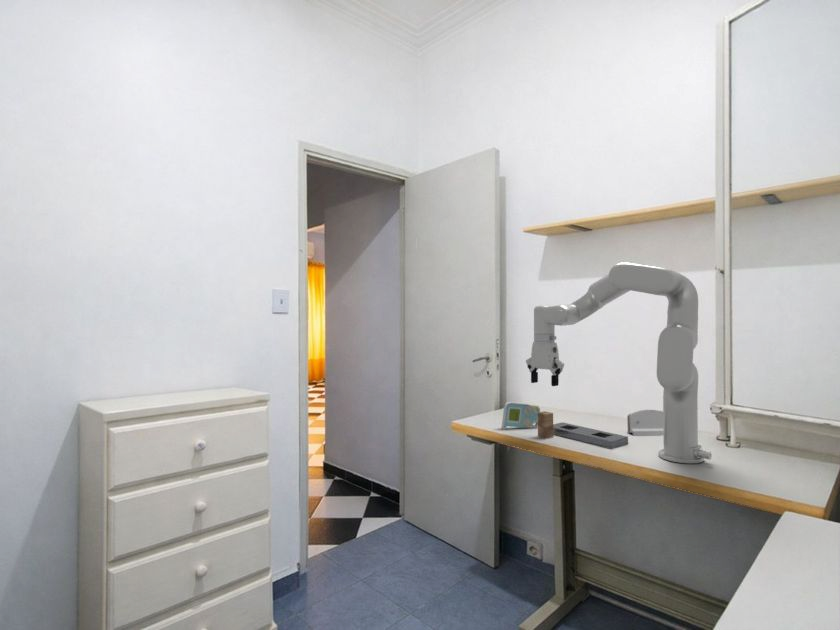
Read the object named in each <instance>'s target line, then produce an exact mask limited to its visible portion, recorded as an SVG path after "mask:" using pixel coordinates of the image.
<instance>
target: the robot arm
mask: <svg viewBox="0 0 840 630" xmlns="http://www.w3.org/2000/svg"><path fill="white" fill-rule="evenodd" d="M631 291H632V292H638V293H644V294H649V295H655V296H662V297H666V298H667V301H668V304H667V313H666V314H667V320H666V327H664V328H663V329H662V331H661V332H660V334H659V336H658V341H657V357H656V378H657V381H658V383H659V385H660V386H661V388H663V395H662V401H663V402H662V406H663V407H662V411H663V433H664V436H663V448H662V449H659V450H658V452H657V453H658V456H659V457H660V459H663V460H665V461H669V462H674V463H677V464H678V463H679V464H700V463H703V462H704V461H705V459H706V460H709V461H710V460H711V459H712V456H713V455H712V452H711V451H707V450H703V448H702V445H700V444H699V435H698V434H699V426H698V425H699V421H698V420H699V419H698V408H699V407H698V404H699V403H698V399H699V398H698V394H699V393H698V391H699V371H698V368H697V367H696V365H695V363H693V361H694V349H696V348H697V346H698V343H699V342H698V341H699V337H698V333H699V331H698V329H699V294H698V291H697V288H696V286H695V284H693V282H692V281H691V280H690V279H689V278H688V277H687V276H685V275H683V274H681V272H680V273H679V272H678V271H675V270H672V269H669V268H665V267H657V266H651V265H650V266H649V265H643V264H638V263H632V262H631V263H630V262H624V261H623V262H618V263H616V264H614V265H613V266H612V267H611V268H610V269H609V271H608V274H606V275H604V277H601V278H600V279H598V280H597V281H595V282H593V283H592V284H591V285H589V287H588V289H587V292H586V293H584V295H583V296H581V297H580V298H577V300H575V301H573V302H572V303H570V304H558V305H537V306H534V309H533V341H532V345H531V353H530V354H531V355H530V356H531V357H529V358H527V359H526V360H525V363H526V365H527V369H528V370H529V373H530V383H532V384H535V383H538V382H539V372H538V369H540V370H549V371H550V372H551V376H550V378H551V380H550V383H551V386H552V387H559V377H560V375H561V373H562V372H563V369H564V367H565V363H564V362H562V361H561V360H560V353H559V347H558V343H557V342H555V340H557V336H556V335H555V327H556V326H560V327H561V326H572V325H576V324H578V323H580V322H581V321H583V320H585V319H587V318H588V317H590V316H592V315H593V314H595V313H596V312H598V311H599V310H600V309H602V308H603V307H604V306H606V305H608V304H609V303H611V302H613V301H615V300H616V299H618V298H620V297H621V296H623V295H625V294H627V293H628V292H631Z"/></svg>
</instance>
